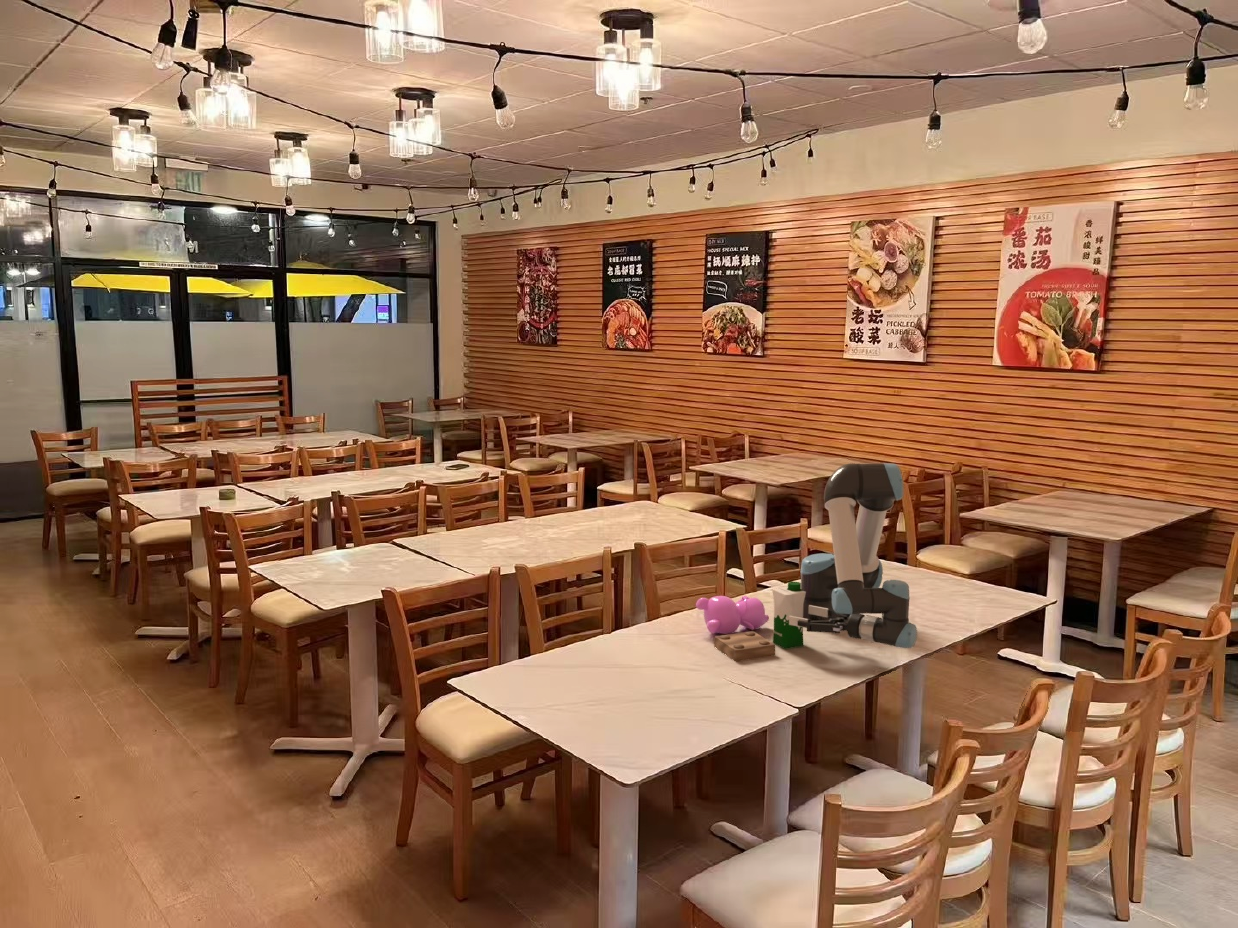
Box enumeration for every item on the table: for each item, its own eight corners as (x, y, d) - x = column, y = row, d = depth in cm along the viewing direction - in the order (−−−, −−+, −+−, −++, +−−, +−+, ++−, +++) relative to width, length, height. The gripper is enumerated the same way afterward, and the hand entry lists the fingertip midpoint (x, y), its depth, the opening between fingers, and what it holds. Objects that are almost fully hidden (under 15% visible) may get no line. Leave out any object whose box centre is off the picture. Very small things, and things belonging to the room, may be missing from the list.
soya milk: (807, 646, 289) (808, 585, 286) (784, 650, 285) (785, 589, 282) (791, 638, 297) (792, 579, 294) (768, 642, 293) (769, 582, 290)
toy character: (745, 613, 319) (685, 611, 308) (760, 585, 312) (700, 583, 301) (764, 645, 307) (702, 645, 296) (781, 618, 301) (718, 616, 290)
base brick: (714, 648, 289) (714, 635, 288) (752, 642, 294) (753, 630, 293) (735, 663, 276) (735, 649, 275) (775, 657, 281) (775, 643, 280)
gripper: (846, 650, 264) (780, 636, 277) (879, 628, 283) (816, 616, 296) (846, 625, 263) (781, 612, 276) (879, 605, 282) (817, 594, 295)
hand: (799, 614), depth 286 cm, fingers open, 13 cm apart
